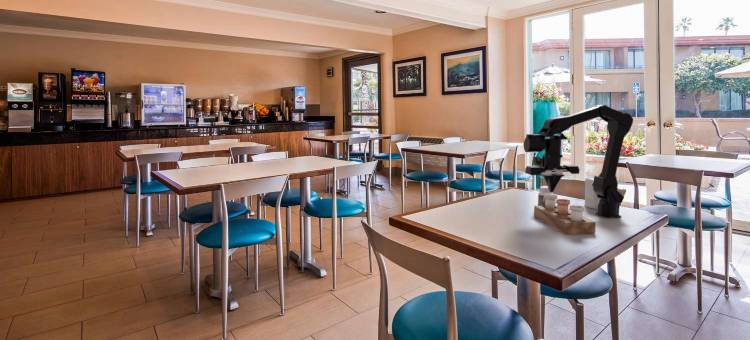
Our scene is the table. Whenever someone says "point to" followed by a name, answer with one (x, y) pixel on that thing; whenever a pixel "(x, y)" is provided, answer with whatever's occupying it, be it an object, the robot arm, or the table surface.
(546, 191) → the pill bottle
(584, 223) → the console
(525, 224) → the table surface
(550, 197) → the grey plug
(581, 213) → the grey plug
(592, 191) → the skincare box
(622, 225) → the table surface
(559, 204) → the terracotta plug middle
